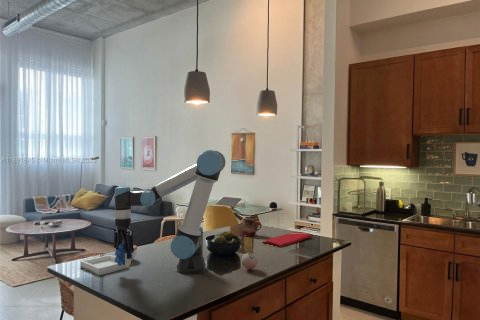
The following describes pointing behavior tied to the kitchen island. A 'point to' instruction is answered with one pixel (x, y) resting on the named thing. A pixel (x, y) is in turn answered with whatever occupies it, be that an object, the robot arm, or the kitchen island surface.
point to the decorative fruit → (249, 260)
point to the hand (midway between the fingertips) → (123, 263)
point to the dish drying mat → (287, 239)
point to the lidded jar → (134, 252)
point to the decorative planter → (249, 226)
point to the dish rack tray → (101, 265)
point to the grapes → (121, 255)
